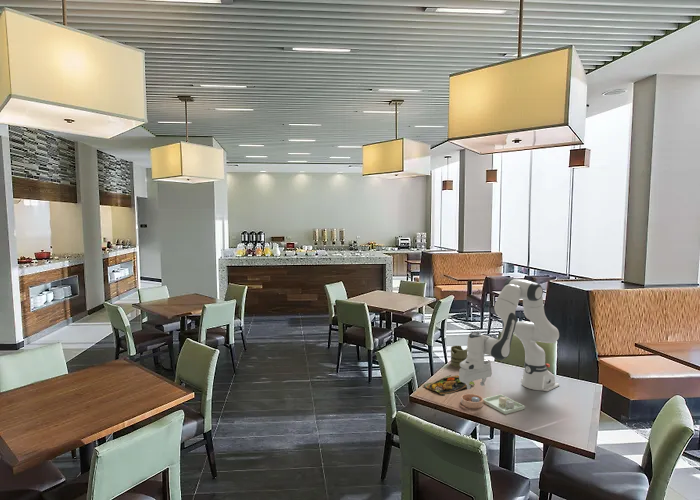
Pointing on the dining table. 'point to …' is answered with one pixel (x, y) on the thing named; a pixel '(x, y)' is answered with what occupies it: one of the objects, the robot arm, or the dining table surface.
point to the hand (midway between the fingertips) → (475, 387)
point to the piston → (458, 355)
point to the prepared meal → (447, 385)
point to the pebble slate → (475, 399)
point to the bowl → (467, 401)
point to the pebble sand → (502, 401)
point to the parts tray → (494, 403)
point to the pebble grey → (509, 404)
